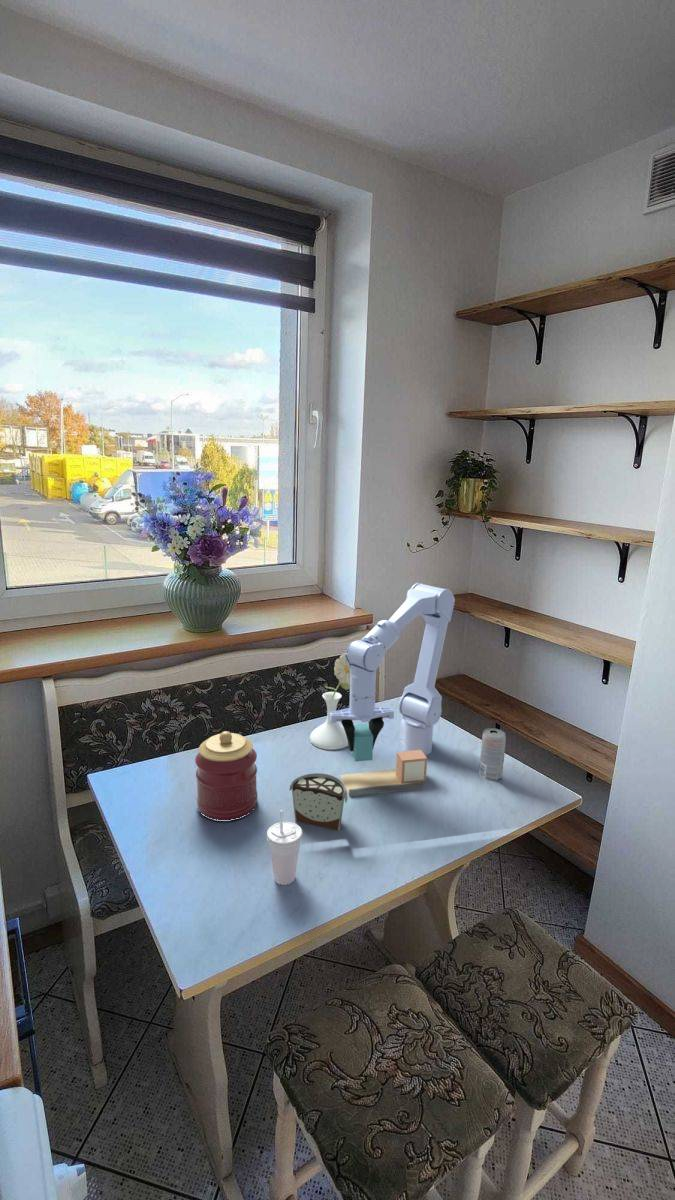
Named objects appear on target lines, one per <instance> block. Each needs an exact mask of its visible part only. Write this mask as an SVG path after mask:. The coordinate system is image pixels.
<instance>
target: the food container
mask: <svg viewBox="0 0 675 1200" xmlns="http://www.w3.org/2000/svg"><path fill="white" fill-rule="evenodd" d="M289 791H291V793H292V804H293V811H294V812H293V814H294V821H295V822H299V823H303V824H308V825H312V826H316V827H321V828H325V829H329V830H333V831H334V830H335V831H337V832H339V831H340V829H341V826H342V825H341V824H342V817H343V810H344V804H347V802H348V797H349V796H348V792H347V790H346V788H345V785H344V783H343V781H342V779H339V778H338V777H336V776H335V775H332V774H327V773H321V772H313V773H312V772H311V773H306V774H303V775H300V776H297V777H296V778H295V779H293V780H292V781H291V784H290V785H289Z"/></svg>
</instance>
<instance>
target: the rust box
mask: <svg viewBox="0 0 675 1200" xmlns="http://www.w3.org/2000/svg"><path fill="white" fill-rule="evenodd" d="M395 764H396V767H395V769H396V776H397V778H398V779H399V781H400V783H401V784H402V783H411V782H420V781H421V782H422V783H423V782H426V781H427V769H428V768H427V765H428V757H427V755H425V754H424V753H423V752H422V750H413V751H404V750H403V751H397V752H396V762H395Z"/></svg>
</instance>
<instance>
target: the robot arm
mask: <svg viewBox="0 0 675 1200" xmlns="http://www.w3.org/2000/svg"><path fill="white" fill-rule="evenodd" d="M455 602H456V598H455V596H454V594H453V592H452V591H451V589H449V588H441V587H436V586H433V585H432V586H431V585H428V584H424V583H421V582H416V583H414V584H413V585H412V586H411V588H410V589H408V590H407V592H406V599H405V601H404V602H403V603H402V604H401V605H400V606H399V608H398V609H397V610H396V611H394V613H393V614H392V615H391V617H390V618H389V619H388V620H387V619H382V620H379V621H378V622H377V623H376V625H374V627H373V628H371V630H370V631H368V632H367V634H365V635H364V636H363V637H362V638H361V639H358V640H357V639H356V640H355V641H352V642H351V643H349V644H348V646H347V648H346V651H345V653H344V654H345V660H346V662H347V663H348V670H349V671H350V689H349V707H347V708H344V709H339V710H336V711H334V712H330V722H331V723H336V722H338V723H339V722H340V723H341V725H342V726H343V727H344V730H345V733H346V736H347V740H348V746H347V747H348V749H349V751H350V752H351V751H353V748H354V742H353V738H354V730H355V727H354V725H355V724H354V722H353V721H361V722H362V723H366V722H367V723H368V727H369V729H370V731H371V733H372V735H373V749H374V747H375V744H376V741H377V738H378V736H379V734H380V732H381V731H382V730H383V728H384V726H385V722H384V719H389V720H393V719H395V718H394V717H395V716H394V715H395V714H394V713H395V711H394V709H393V708H392V707H383V706H382V707H381V706H380V707H379V706H376V685H377V684H376V683H377V682H376V681H377V669H378V668H380V666H381V664H382V661H383V658H384V657H385V655H386V652H387V651H388V650H389V648H391V647H392V646H393V644H395V643H396V642H397V641H398V639H399V638H400V631H401V630H402V629H403V628H404V627H406V626H407V625H408V624H409V623H411V621H413V620H414V619H415V618H416V617H418V616H419V615H421V617H422V618H423V619H424V622H425V628H424V633H423V638H422V642H421V646H420V651H419V656H418V660H417V664H416V665H417V666H416V671H415V674H414V679H413V682H412V683H411V684H408V685H406V686H405V687H404V688H403V691H402V692H403V693H402V695H401V696H400V698H399V700H398V701H399V702H398V712H399V714H401V715H402V719H401V721H400V732H399V733H400V735H399V741H400V743H401V744H402V747H403V751H413V750H422V752H423V753H424V754H425V756H428V755H430V754H431V753H432V749H433V735H434V734H433V733H434V726H435V725H436V724H437V723H438V722H439V720H440V718H441V715H442V710H443V709H442V701H443V697H442V695H441V694H440V693H439V691H438V690H437V688H436V687H435V685H436V681H437V676H438V672H439V668H440V667H439V666H440V663H441V658H442V652H443V648H444V643H445V639H446V634H447V630H448V624H449V623H450V622H451V620H452V615H453V611H454V606H455Z"/></svg>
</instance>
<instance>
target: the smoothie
mask: <svg viewBox="0 0 675 1200" xmlns="http://www.w3.org/2000/svg"><path fill="white" fill-rule="evenodd" d="M266 840H267V842H268V845H269V851H270V857H271V864H272V871H273V876H274V881H275V882H276V884H278V885H280V884H281V885H280V886H288V885H290V883H291V882H292V883H294V881H295V880H296V873H297V872H296V871H297V866H298V859H299V858H298V857H299V851H300V844H301V842H302V840H303V829H302V827H301V826H299V825H298V824H297V823H294V822H291V821H284V810H283V809H280V810H279V822H277V823H274V824H273V825H271V826H269V828H268V829H267V831H266ZM292 883H291V884H292ZM287 884H288V885H287Z"/></svg>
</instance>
